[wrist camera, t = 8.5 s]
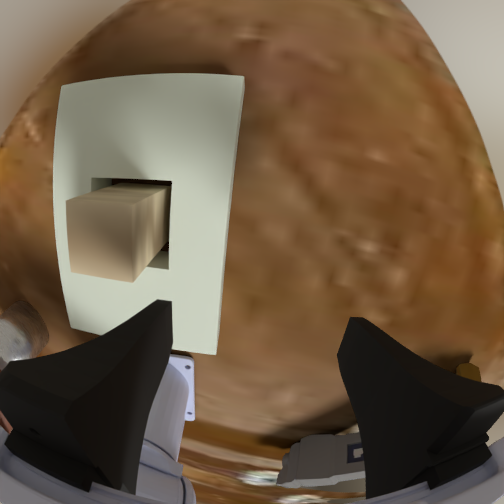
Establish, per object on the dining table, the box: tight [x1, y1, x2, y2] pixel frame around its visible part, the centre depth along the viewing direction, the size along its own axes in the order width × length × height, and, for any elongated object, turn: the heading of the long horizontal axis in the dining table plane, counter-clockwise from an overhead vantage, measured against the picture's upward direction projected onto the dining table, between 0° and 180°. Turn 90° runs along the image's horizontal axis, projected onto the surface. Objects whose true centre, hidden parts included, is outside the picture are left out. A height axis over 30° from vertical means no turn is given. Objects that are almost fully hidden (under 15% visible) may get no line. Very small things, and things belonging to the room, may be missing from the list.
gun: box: [276, 363, 482, 488], centre depth 24 cm, size 3×25×15 cm, turn 116°
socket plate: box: [53, 73, 245, 355], centre depth 17 cm, size 18×12×3 cm, turn 173°
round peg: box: [0, 301, 49, 371], centre depth 19 cm, size 6×6×6 cm
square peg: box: [66, 183, 172, 283], centre depth 15 cm, size 4×4×7 cm
